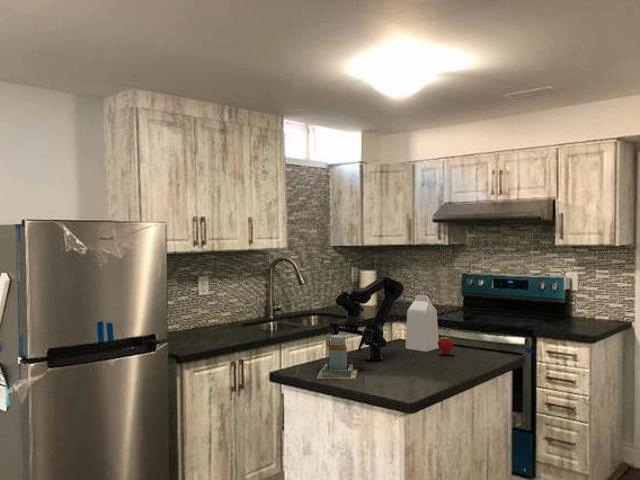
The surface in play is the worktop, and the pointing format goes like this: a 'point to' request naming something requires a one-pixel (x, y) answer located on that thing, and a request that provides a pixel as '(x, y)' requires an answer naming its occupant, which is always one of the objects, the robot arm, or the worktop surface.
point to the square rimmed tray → (338, 373)
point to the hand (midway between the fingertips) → (347, 349)
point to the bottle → (337, 353)
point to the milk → (422, 325)
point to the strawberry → (445, 345)
